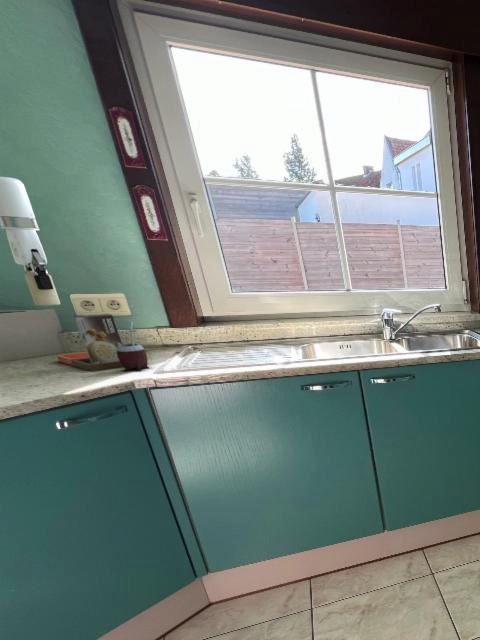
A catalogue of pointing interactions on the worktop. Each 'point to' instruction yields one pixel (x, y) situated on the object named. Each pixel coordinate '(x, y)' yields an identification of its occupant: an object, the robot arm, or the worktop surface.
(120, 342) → the coffee box
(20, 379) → the worktop surface
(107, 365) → the walnut tray
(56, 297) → the candle
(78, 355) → the terracotta tray
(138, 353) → the mate gourd
